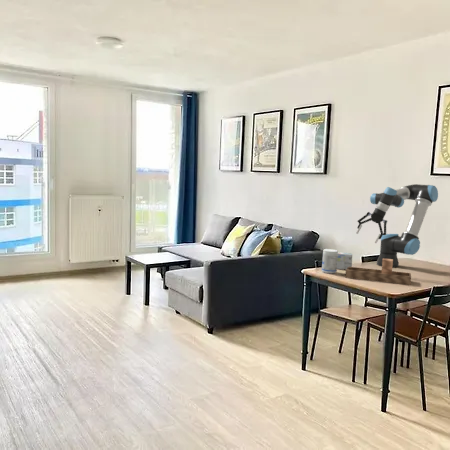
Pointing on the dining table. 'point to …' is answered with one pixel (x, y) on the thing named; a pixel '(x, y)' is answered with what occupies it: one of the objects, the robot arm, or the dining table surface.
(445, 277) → the dining table surface
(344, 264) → the light bulb box
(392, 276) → the box
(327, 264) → the supplement tub
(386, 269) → the block
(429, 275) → the dining table surface
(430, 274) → the dining table surface
